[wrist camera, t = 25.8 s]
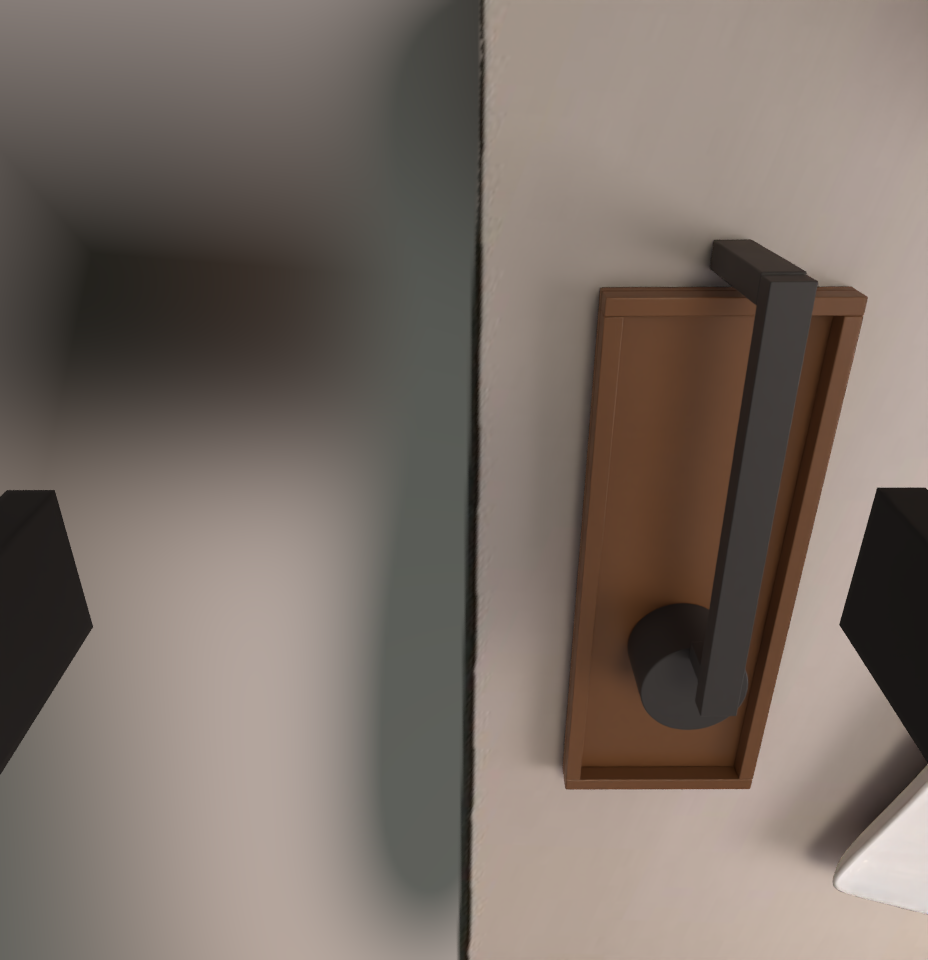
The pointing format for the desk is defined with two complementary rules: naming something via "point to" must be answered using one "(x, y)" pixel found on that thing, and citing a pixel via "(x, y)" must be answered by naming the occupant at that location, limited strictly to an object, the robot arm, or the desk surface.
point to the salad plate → (892, 853)
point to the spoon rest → (685, 518)
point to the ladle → (733, 508)
